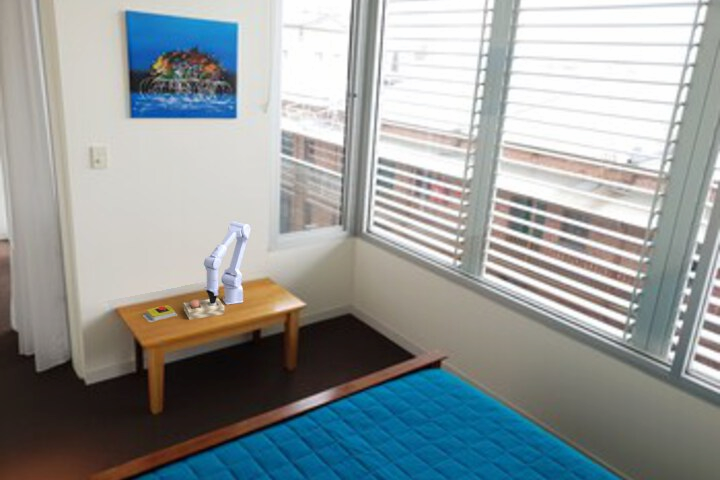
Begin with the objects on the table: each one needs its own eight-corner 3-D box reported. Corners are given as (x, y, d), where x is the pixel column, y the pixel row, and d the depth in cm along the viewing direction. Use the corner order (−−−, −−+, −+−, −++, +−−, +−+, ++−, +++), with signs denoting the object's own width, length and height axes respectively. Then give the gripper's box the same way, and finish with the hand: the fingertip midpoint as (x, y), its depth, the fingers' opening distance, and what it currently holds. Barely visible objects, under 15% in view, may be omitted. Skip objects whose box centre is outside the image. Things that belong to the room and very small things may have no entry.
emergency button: (178, 308, 288) (148, 315, 278) (178, 316, 289) (149, 323, 279) (170, 301, 294) (141, 308, 285) (170, 309, 295) (142, 316, 286)
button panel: (218, 304, 304) (217, 298, 302) (224, 313, 294) (224, 307, 293) (183, 309, 295) (183, 302, 294) (189, 319, 285) (189, 312, 284)
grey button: (215, 307, 299) (215, 300, 298) (217, 310, 296) (217, 303, 294) (207, 308, 297) (207, 301, 296) (209, 312, 294) (209, 305, 293)
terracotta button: (198, 305, 294) (198, 298, 293) (200, 308, 291) (200, 301, 289) (190, 307, 292) (190, 299, 291) (192, 310, 289) (192, 303, 287)
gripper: (200, 274, 295) (201, 298, 299) (208, 285, 283) (208, 309, 287) (214, 273, 298) (214, 296, 303) (222, 283, 287) (222, 307, 291)
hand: (212, 303), depth 295 cm, fingers closed, pressing on grey button
